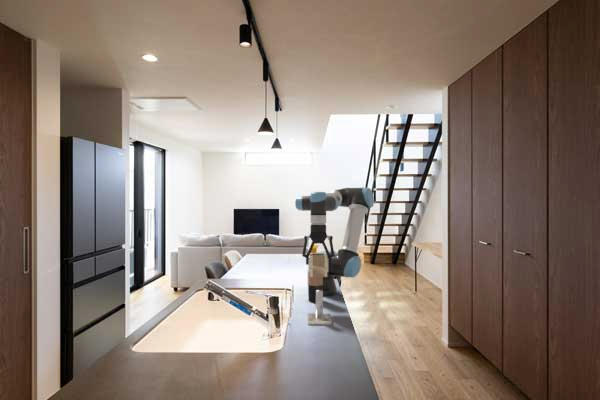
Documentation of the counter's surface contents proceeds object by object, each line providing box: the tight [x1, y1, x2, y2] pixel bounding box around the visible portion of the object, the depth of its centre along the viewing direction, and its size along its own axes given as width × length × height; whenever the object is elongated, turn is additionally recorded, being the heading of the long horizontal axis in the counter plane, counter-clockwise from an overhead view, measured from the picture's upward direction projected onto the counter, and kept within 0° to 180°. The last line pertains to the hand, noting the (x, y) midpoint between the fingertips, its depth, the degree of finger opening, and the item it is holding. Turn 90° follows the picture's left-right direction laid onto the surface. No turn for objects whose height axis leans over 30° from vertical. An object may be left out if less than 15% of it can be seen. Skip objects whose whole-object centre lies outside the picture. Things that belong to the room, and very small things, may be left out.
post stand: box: [307, 290, 333, 326], centre depth 158 cm, size 10×10×13 cm
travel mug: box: [307, 271, 323, 304], centre depth 190 cm, size 8×8×20 cm
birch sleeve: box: [309, 253, 327, 277], centre depth 175 cm, size 8×8×10 cm
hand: (318, 271), depth 175 cm, fingers closed on birch sleeve, 8 cm apart
